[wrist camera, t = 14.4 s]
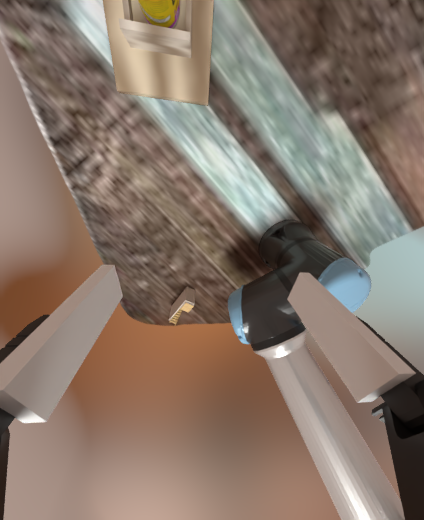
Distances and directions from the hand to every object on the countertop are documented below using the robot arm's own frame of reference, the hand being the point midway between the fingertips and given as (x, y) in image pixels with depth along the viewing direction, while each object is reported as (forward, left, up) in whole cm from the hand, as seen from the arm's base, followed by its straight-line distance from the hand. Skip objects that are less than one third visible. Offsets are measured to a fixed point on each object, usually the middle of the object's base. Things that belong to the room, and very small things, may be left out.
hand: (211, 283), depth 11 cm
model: (+5, +33, -32) cm, 46 cm away
